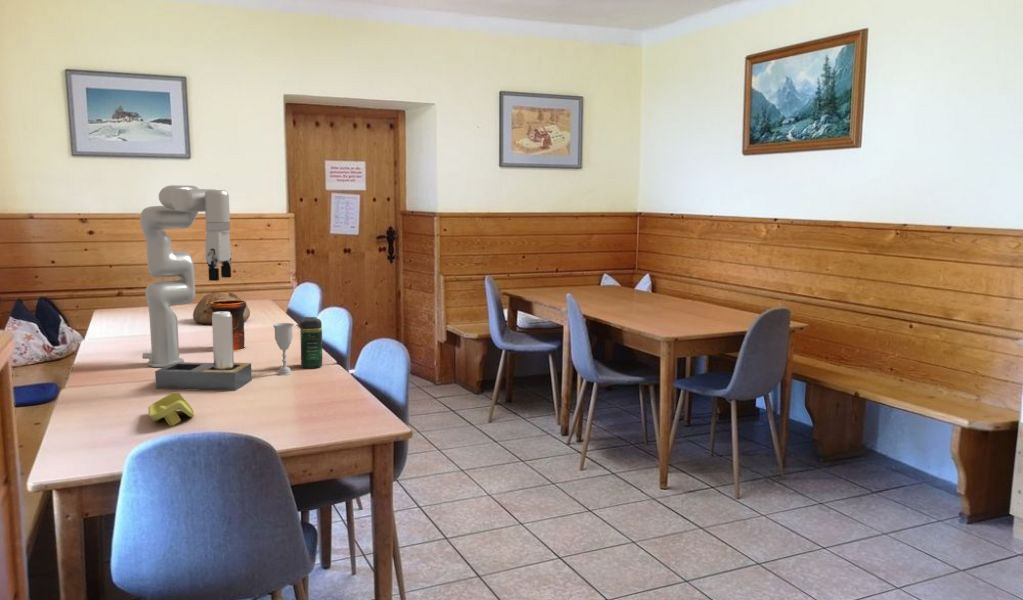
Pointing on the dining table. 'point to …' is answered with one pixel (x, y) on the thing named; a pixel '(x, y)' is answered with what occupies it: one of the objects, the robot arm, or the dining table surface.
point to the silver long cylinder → (222, 341)
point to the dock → (202, 376)
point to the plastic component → (170, 408)
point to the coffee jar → (311, 342)
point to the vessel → (233, 319)
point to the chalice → (283, 343)
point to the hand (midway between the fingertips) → (220, 278)
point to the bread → (205, 312)
